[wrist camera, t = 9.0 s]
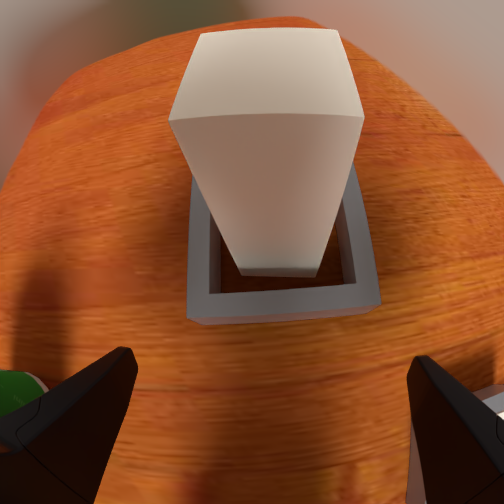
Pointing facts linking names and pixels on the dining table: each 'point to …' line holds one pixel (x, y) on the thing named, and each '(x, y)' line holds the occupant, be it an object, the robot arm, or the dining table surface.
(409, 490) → the cap with slat
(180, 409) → the dining table surface
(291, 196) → the white rectangular block
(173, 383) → the dining table surface
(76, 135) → the dining table surface
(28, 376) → the soda can
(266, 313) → the grey square frame
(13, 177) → the dining table surface
